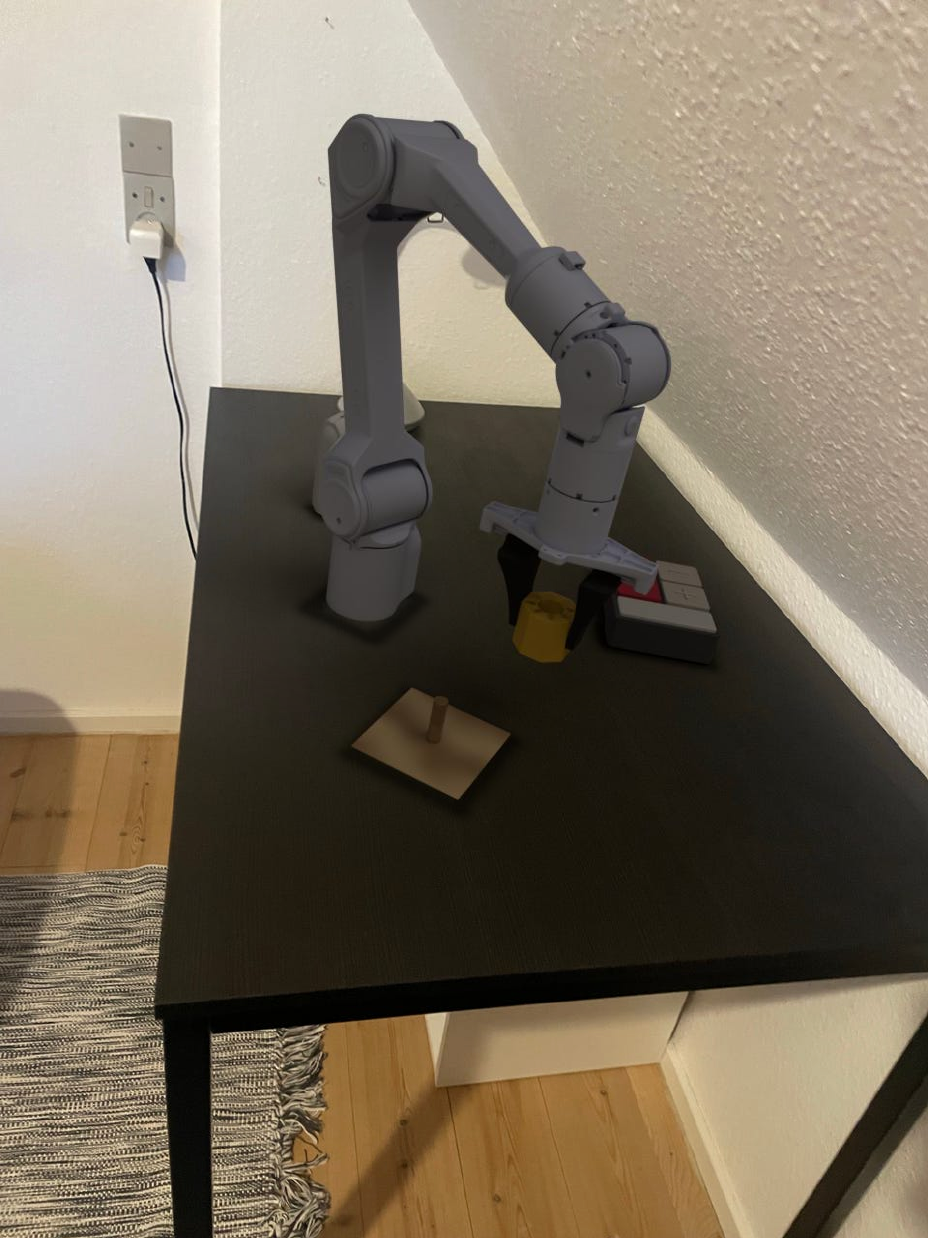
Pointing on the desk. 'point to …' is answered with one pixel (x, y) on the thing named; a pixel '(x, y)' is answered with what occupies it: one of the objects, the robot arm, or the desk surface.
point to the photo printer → (326, 449)
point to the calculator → (664, 617)
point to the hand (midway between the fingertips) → (544, 632)
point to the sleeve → (544, 626)
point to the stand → (432, 742)
